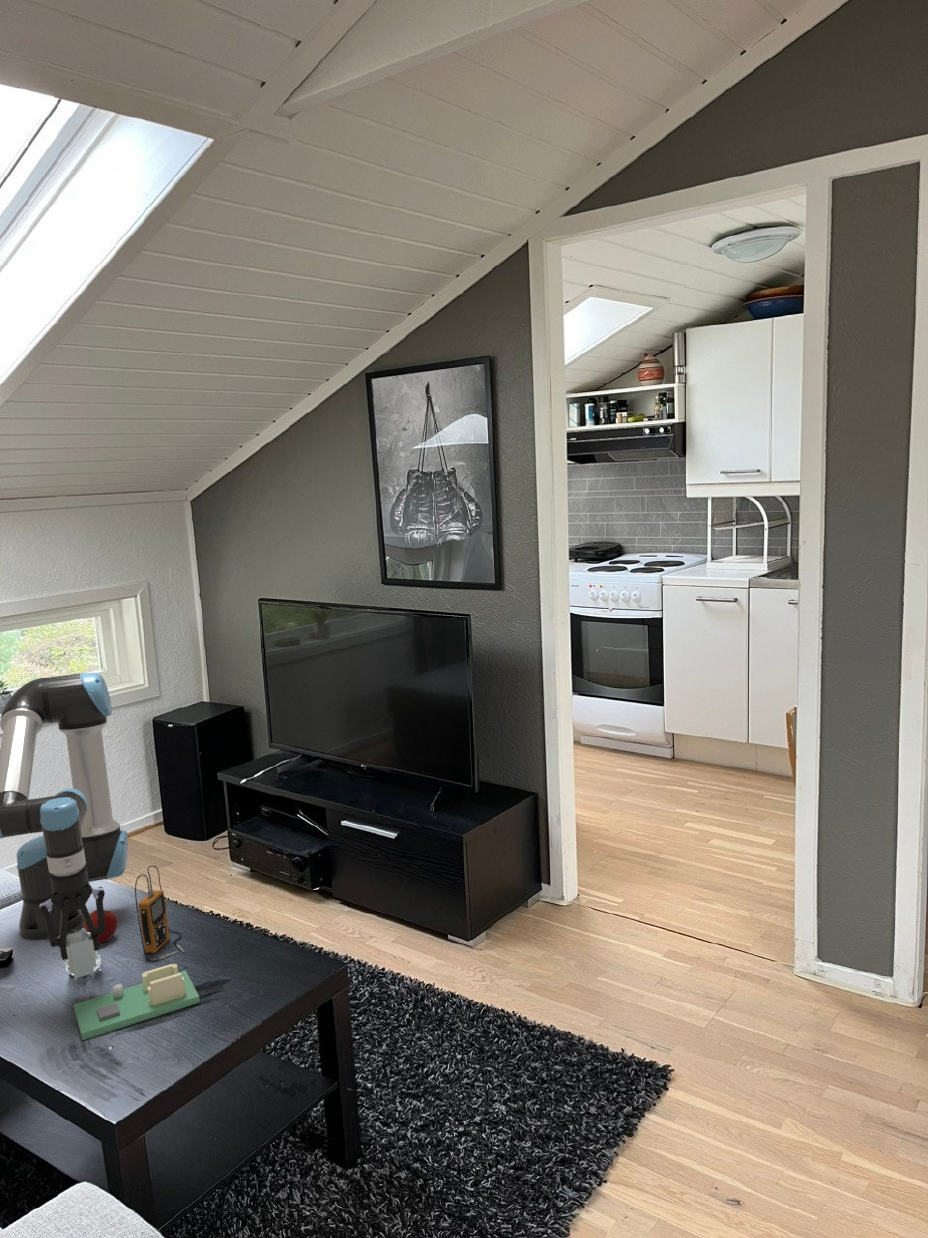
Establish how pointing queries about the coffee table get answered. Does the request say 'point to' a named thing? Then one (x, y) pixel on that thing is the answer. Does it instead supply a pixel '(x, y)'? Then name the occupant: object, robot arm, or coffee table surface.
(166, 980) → the board
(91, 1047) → the coffee table surface
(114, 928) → the apple
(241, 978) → the coffee table surface
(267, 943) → the coffee table surface
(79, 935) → the plug
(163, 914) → the multimeter
